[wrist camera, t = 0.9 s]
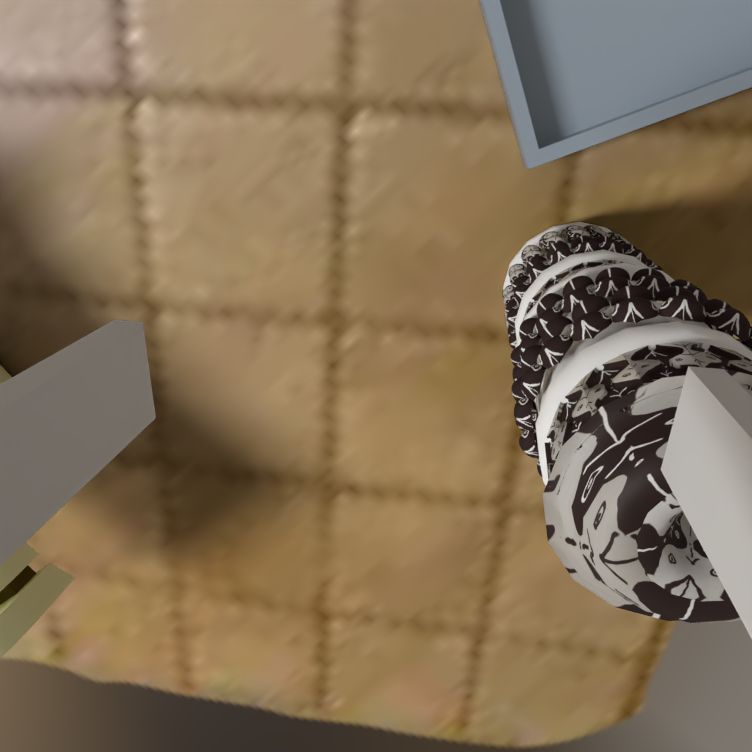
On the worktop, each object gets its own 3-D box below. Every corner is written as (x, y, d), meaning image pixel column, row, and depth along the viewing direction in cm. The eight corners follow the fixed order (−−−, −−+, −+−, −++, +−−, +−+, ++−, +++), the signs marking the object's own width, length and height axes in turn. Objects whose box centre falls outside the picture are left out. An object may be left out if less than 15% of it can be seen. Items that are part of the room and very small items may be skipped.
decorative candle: (680, 292, 37) (1018, 568, 14) (558, 383, 40) (669, 722, 17) (586, 182, 35) (795, 289, 12) (468, 286, 38) (459, 520, 16)
